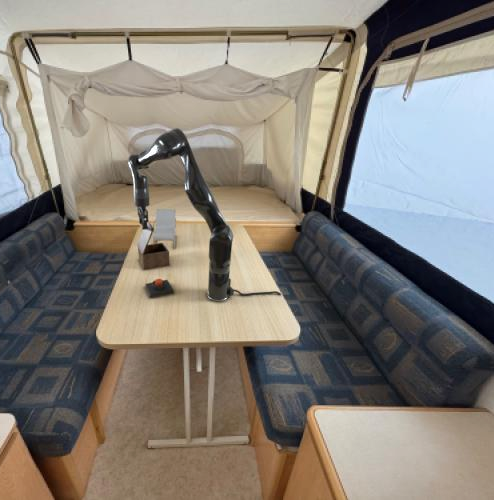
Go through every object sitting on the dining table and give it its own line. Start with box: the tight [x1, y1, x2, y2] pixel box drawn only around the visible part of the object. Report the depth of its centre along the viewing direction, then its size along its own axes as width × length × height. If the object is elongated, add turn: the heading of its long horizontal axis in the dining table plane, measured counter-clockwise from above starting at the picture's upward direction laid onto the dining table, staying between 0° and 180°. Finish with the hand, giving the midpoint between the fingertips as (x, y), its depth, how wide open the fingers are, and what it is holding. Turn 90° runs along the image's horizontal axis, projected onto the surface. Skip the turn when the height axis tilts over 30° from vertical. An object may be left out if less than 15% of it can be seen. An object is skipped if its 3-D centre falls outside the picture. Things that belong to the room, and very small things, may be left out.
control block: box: [144, 279, 174, 299], centre depth 126 cm, size 11×9×4 cm
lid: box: [137, 221, 155, 255], centre depth 142 cm, size 15×13×5 cm
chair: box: [152, 208, 177, 249], centre depth 174 cm, size 13×25×20 cm, turn 1°
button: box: [154, 278, 164, 286], centre depth 125 cm, size 4×4×2 cm
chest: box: [137, 242, 170, 271], centre depth 150 cm, size 15×13×9 cm
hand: (143, 226), depth 140 cm, fingers open, 8 cm apart
